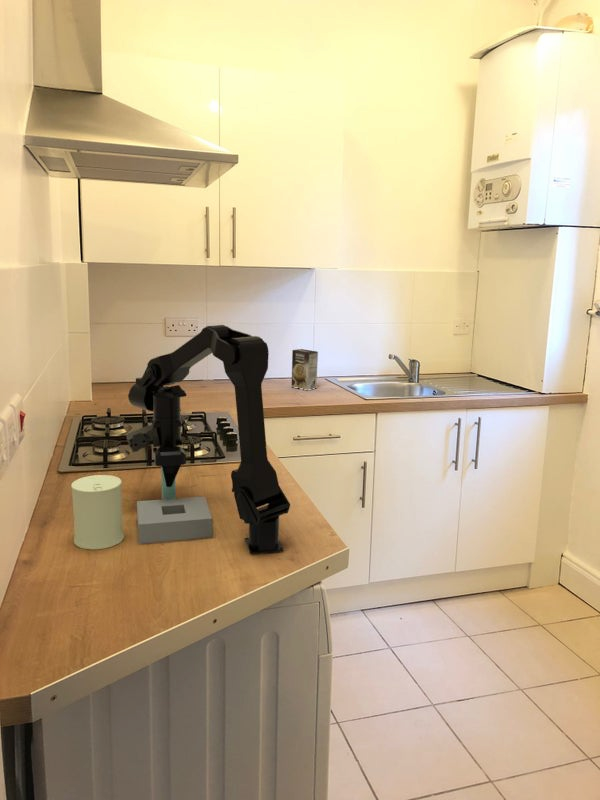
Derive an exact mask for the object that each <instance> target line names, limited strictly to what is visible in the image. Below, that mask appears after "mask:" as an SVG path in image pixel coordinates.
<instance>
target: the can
mask: <svg viewBox="0 0 600 800" xmlns="http://www.w3.org/2000/svg"><path fill="white" fill-rule="evenodd" d="M70 487H71V494H72V495H71V496H72V509H73V510H72V512H73V525H74V526H73V528H74V530H73V531H74V532H73V533H74V539H73V542H74V544H75V546H76V547H78V548H80V549H83V550H92V551H93V550H103V549H108V548H111V547H114V546H117V545H118V544H119V543H122V541H123V540H124V537H125V534H124V526H123V503H122V479H120V478H119V477H118V476H114V475H110V474H109V475H108V474H97V475H95V474H94V475H88V476H83V477H80V478H77V479H76V480H74V481H73V482H72V483H71V485H70Z"/></svg>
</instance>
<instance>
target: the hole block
mask: <svg viewBox="0 0 600 800" xmlns="http://www.w3.org/2000/svg"><path fill="white" fill-rule="evenodd" d="M136 513H137V514H136V515H137V535H138V545H142V544H155V543H165V542H167V543H169V542H176V541H188V540H199V539H211V538H213V516H212V513H211V511H210V508H209V505H208V502H207V499H206V496H205V495H204V496H191V497H179V498H177V497H176V499H162V498H161V499H153V500H152V499H151V500H139V501H138V500H137V501H136Z"/></svg>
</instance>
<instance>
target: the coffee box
mask: <svg viewBox="0 0 600 800" xmlns="http://www.w3.org/2000/svg"><path fill="white" fill-rule="evenodd" d="M291 351H292V354H291V355H292V356H291V358H292V359H291V360H292V362H291V388H292V387H298V388H303V389H307V390H308V389H313V388H316V389H317V385H318V384H317V383H318V381H317V379H318V361H319V360H318V359H319V358H318V357H319V355H318V354H319V351H316V350H311V349H303V348H300V349H298V348H297V349H292V350H291Z"/></svg>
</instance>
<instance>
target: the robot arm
mask: <svg viewBox="0 0 600 800" xmlns="http://www.w3.org/2000/svg"><path fill="white" fill-rule="evenodd" d="M269 351H270V350H269V347H268V343H267V342H265V340H263V338H261V337H260V336H256V335H254V336H253V335H251V334H249V333H245V332H241V331H239V330H235V329H233V328H231V327H230V326H227V325H224V324H215V325H207V326H205V327H203V328H202V330H200V332H199V333H197V334H196V335H195V336H193V337H191V339H189V340H188V341H186V342H185V343H183V344H182V345H181V346H179V347H178V348H176V349H175V350H174V351H172V352H170V353H169V352H168V353H166V354H162V355H159V356H156V357H153V358H151V359H150V360H149V361H148V362H147V364H146V365H147V366H146V368H145V370H144V372H143V374H142V377H135V383H134V384H133V385H132V386H131V387H130V389H129V392H128V395H127V396H128V400H129V401H128V402H129V403H130V404H131V405H132V406H133V407H134V408H135V407H136V408H138V409H143V410H145V411H149V412H152V413H153V417H152V419H151V424H150V425H148V426H143V427H142V428H139V429H136V430H133V431H131V432H128V433H126V440H127V443H128V445H129V448H130V449H131V452H132V453H136V452H138V451H139V450H141V449H144V448H147V447H149V446H151V445H152V447H153V448H152V452H153V453H154V465H155V467H161V466H162V469H163V473H164V477H165V482H166V486H167V487H171V486H172V485H173V482H174V480H175V481H176V478H177V475H178V474H179V473H178V472H179V470H180V468H181V466H182V465H186V464H187V455H186V452H185V451H186V450H185V449H183V448H182V447H181V446H182V445H183V439H182V428H181V427H182V424H183V423H182V420H181V418H182V417H181V415H182V414H181V412H182V411H181V398H184V397H185V398H186V396H187V393H186V391H185V390H184V389H182V388H181V385H180V384H177V383H181V382H183V380H185V378H186V377H187V376H188V375H189V374H190V369H191V368H192V367H193V366H194V365H196V364H198V363H199V362H200V361H202V360H204V359H205V358H207V357H208V356H210V355H211V354H212V355H213V357H214V358H217V359H219V360H220V361H221V362H222V363H223V368H224V373H225V374H226V376H227V377H228V379H229V381H230V382H231V383H232V385H233V386H234V392H235V393H234V395H235V406H236V416H237V417H236V418H237V429H238V440H239V451H240V464H239V466H238V468H236V469H234V470H232V471H231V474H230V478H231V483H232V484H231V485H232V487H231V493H233V496H234V501H235V504H236V505H235V506H236V509H237V514H238V517H239V519H240V520H242V521H243V522H244V524H246V525H247V524H248V537H245V538H244V540H243V542H244V543H245V545H246V547H247V551H248V553H249V554H250V555H258V554H260V555H261V554H269V553H279V552H283V551H284V550H285V549H284V547H283V544H282V542H281V541H280V538H279V537H280V516H282V515H286V514H288V513H289V510H290V508H291V503H290V502H289V499H288V498H287V496H286V495H285V493H284V491H283V490H282V487H281V486H280V485H279V480H278V474H277V471H276V469H275V468H274V467H273V464H271V462H270V461H269V460H268V453H267V452H268V450H267V440H266V427H265V426H266V425H265V417H264V416H265V415H264V413H265V411H264V402H263V401H264V399H263V390H262V387H263V386H262V383H263V381H264V379H265V376H266V374H267V372H268V371H269V355H270V354H269ZM174 384H175V385H174ZM171 385H172V386H171Z"/></svg>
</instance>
